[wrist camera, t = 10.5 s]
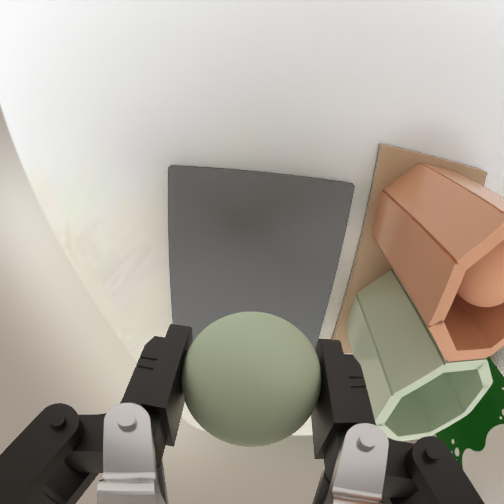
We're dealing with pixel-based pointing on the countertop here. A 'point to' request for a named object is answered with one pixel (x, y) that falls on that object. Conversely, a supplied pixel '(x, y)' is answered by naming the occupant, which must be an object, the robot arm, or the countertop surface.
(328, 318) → the countertop surface
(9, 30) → the countertop surface
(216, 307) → the mat
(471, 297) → the ball rust
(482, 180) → the tubes
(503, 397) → the milk carton
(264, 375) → the ball sage
